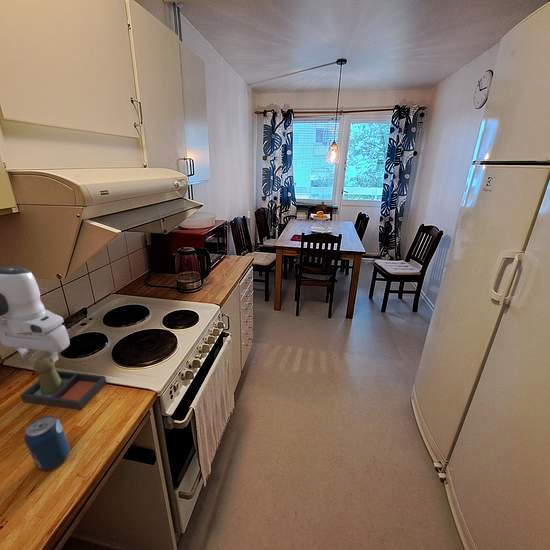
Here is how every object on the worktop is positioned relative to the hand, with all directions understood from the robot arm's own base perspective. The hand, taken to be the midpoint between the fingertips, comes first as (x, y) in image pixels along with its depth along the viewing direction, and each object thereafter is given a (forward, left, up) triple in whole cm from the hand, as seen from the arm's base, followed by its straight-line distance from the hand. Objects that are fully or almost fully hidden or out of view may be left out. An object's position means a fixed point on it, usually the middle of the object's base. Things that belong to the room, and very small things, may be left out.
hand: (40, 358), depth 88 cm
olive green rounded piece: (0, +1, -13) cm, 13 cm away
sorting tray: (+5, 0, -13) cm, 14 cm away
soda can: (+20, -20, -13) cm, 31 cm away
